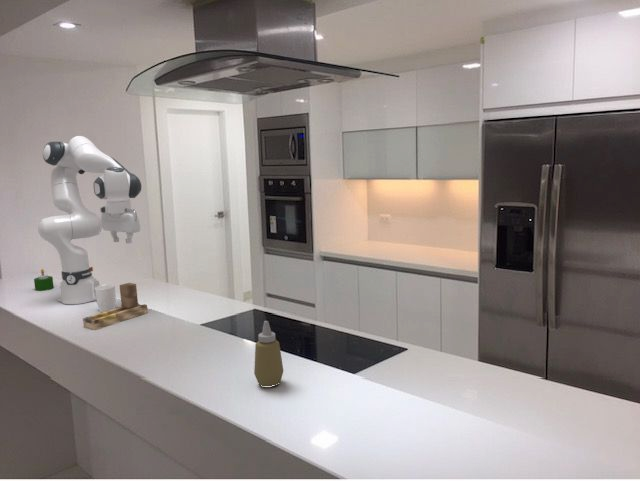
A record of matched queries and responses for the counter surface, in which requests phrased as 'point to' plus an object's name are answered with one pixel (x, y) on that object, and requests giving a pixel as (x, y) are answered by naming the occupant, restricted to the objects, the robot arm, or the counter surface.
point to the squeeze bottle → (268, 358)
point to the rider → (128, 295)
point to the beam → (113, 316)
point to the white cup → (105, 297)
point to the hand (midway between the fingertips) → (122, 242)
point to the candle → (43, 282)
